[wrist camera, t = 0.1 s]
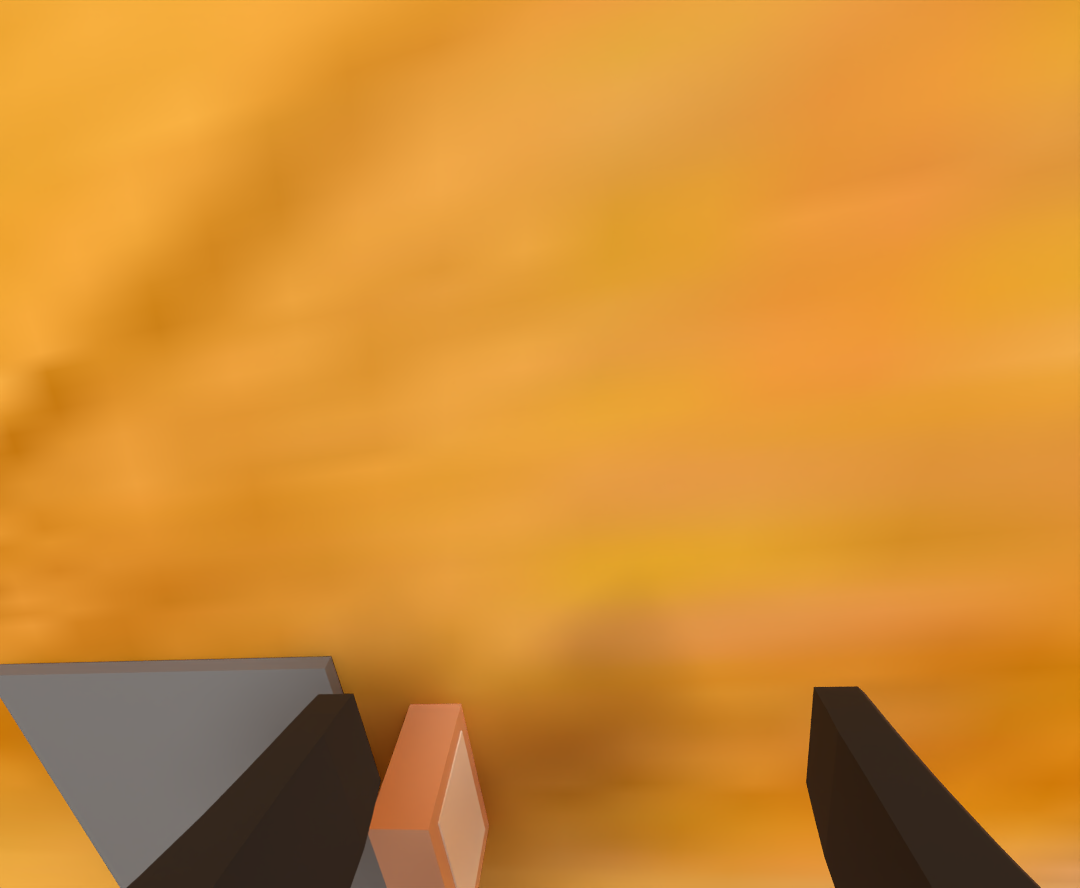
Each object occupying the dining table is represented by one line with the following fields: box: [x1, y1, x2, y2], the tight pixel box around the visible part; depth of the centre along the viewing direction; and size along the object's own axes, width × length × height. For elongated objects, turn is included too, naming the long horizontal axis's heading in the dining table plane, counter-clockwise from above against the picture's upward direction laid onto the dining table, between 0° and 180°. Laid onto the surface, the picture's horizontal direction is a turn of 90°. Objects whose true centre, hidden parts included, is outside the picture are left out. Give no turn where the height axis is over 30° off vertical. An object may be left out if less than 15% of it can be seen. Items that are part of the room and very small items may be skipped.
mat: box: [0, 657, 387, 888], centre depth 28 cm, size 20×14×1 cm
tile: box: [368, 704, 489, 888], centre depth 23 cm, size 7×2×5 cm, turn 7°
